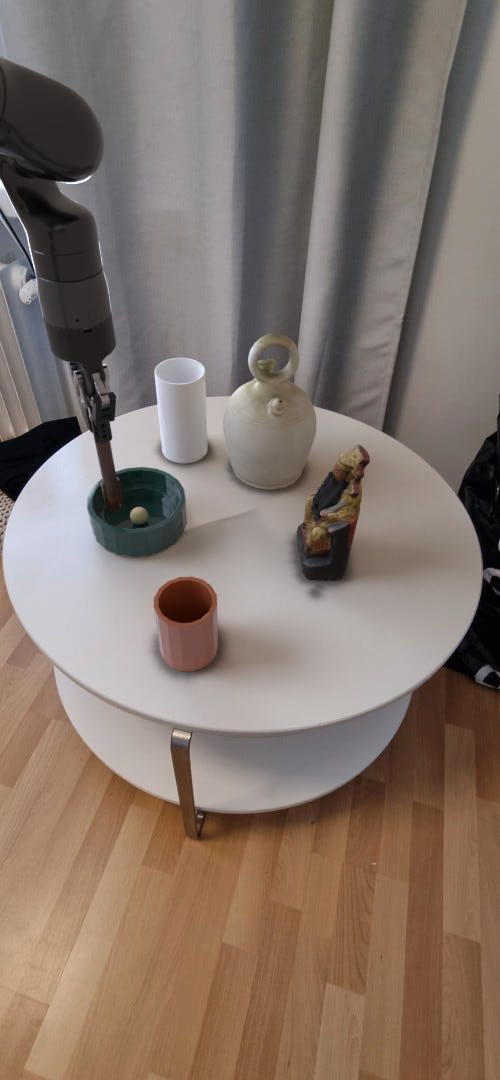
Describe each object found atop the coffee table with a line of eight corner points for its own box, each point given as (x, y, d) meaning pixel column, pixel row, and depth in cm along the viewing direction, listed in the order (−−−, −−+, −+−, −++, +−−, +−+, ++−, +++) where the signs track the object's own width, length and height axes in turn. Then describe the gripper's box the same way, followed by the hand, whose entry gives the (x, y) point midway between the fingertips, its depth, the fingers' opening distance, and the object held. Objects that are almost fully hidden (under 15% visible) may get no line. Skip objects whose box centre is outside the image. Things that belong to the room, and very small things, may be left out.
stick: (108, 512, 87) (87, 410, 73) (104, 504, 88) (82, 401, 75) (125, 507, 87) (107, 405, 74) (120, 499, 89) (102, 396, 75)
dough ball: (134, 530, 91) (132, 518, 89) (128, 519, 93) (126, 506, 91) (151, 525, 92) (149, 512, 90) (145, 514, 94) (143, 501, 92)
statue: (294, 531, 93) (308, 428, 78) (344, 534, 93) (367, 431, 78) (296, 591, 85) (311, 488, 70) (351, 594, 85) (377, 491, 70)
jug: (231, 436, 109) (232, 306, 91) (313, 446, 108) (331, 316, 90) (215, 490, 99) (212, 356, 81) (306, 502, 98) (324, 368, 80)
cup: (191, 469, 103) (186, 389, 91) (153, 453, 105) (144, 374, 94) (216, 444, 108) (214, 366, 96) (179, 430, 110) (173, 352, 99)
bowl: (110, 573, 86) (104, 545, 82) (82, 510, 95) (75, 482, 90) (201, 541, 91) (200, 513, 87) (166, 485, 100) (163, 457, 95)
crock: (173, 680, 74) (168, 636, 67) (151, 635, 79) (144, 589, 72) (227, 657, 77) (227, 612, 70) (203, 615, 81) (201, 568, 74)
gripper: (28, 290, 68) (59, 415, 81) (60, 344, 60) (88, 474, 73) (91, 279, 71) (111, 402, 83) (129, 330, 63) (146, 457, 75)
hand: (100, 435), depth 78 cm, fingers closed on stick, 2 cm apart
